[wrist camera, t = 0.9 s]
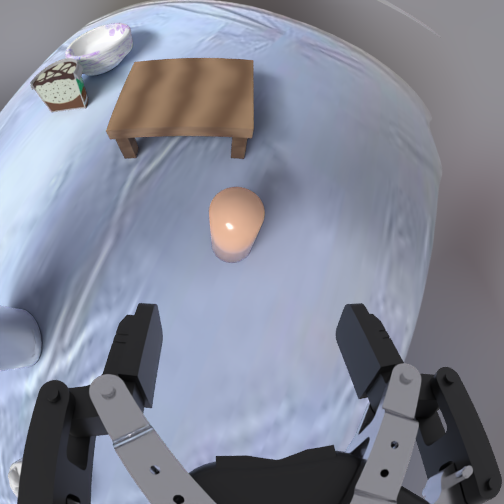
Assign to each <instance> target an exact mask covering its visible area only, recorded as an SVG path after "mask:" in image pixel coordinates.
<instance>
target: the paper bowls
mask: <svg viewBox="0 0 504 504" xmlns="http://www.w3.org/2000/svg"><path fill="white" fill-rule="evenodd" d="M132 47H133V40H132V35H131V29H130V27H129V26H128V25H126V24H123V23H112V24H107V25H103V26H100V27H97V28H94V29H92V30H90V31H88V32H86V33H84V34H82V35H81V36H79V37H78V38H77V39H75V40H74V41H73V42H72V43H71V44H70V45H69V46H68V48H67V50H66V52H65V57H66V58H73V59H75V60H76V61H78V62H79V63H80V65H81V66H82V68H83V73H82V74H86V75H99V74H102V73H105V72H107V71H109V70H111V69H113V68H114V67H116V66H117V65H118V64H119V63H120V62H121V61H122V60H123V58H124V57H125V56H126V55H127V54H128V53H129V52H130V51H131V49H132Z"/></svg>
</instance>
